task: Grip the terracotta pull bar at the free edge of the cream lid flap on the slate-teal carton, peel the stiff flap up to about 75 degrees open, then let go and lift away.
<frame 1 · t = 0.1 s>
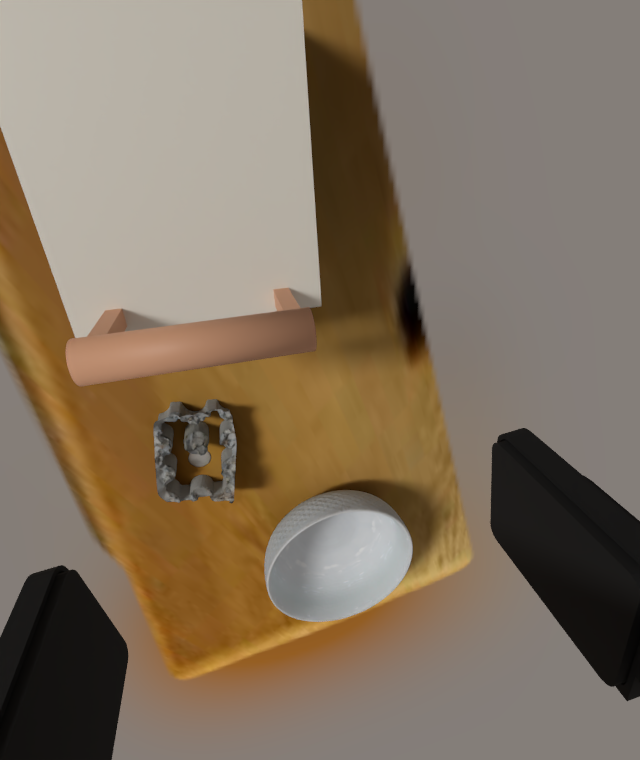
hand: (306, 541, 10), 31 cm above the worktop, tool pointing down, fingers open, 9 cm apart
flap: (169, 176, 21), point 13 cm above the worktop, hinge at 0.0°
cereal bowl: (327, 522, 53), on the worktop
egg carton: (196, 441, 44), on the worktop
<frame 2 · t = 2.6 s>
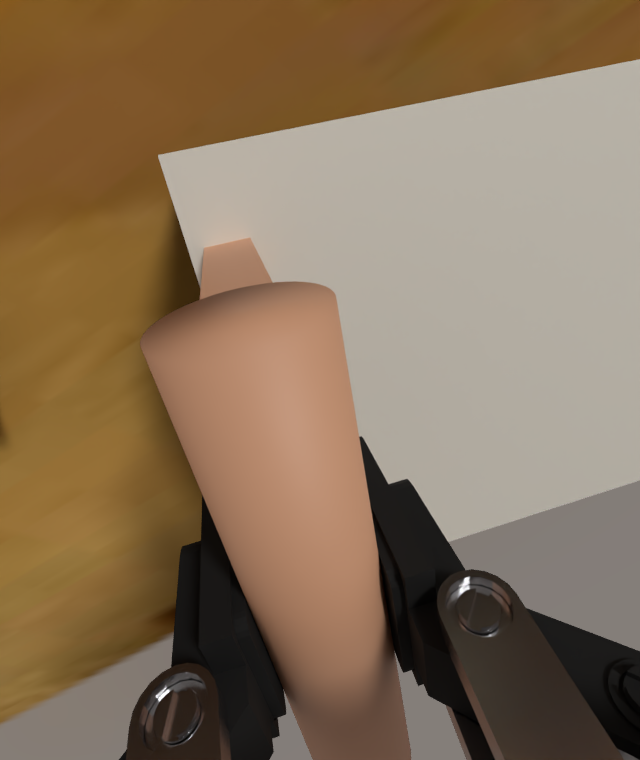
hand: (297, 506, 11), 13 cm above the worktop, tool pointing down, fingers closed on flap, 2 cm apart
flap: (579, 417, 12), point 13 cm above the worktop, hinge at 0.0°, touching gripper
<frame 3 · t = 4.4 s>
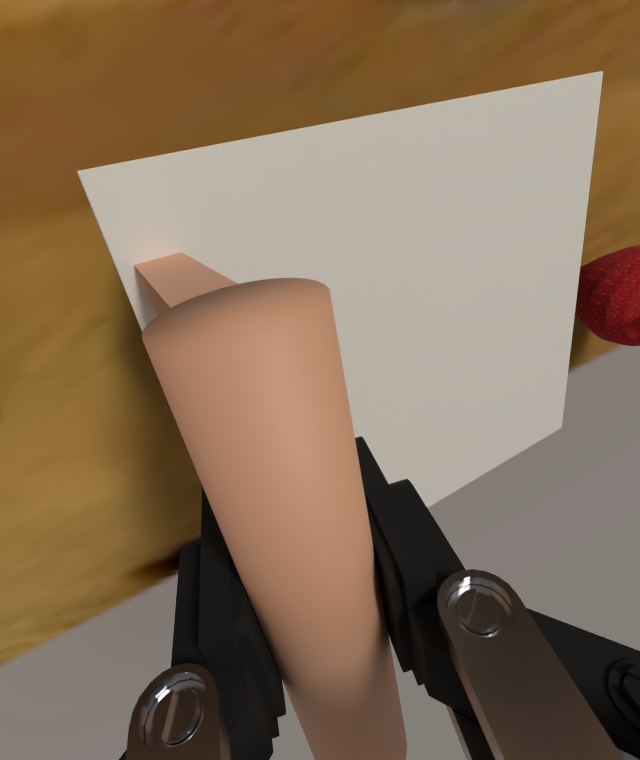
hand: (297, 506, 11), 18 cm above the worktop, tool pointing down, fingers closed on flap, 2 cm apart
flap: (494, 389, 13), point 16 cm above the worktop, hinge at 15.8°, touching gripper
strawberry: (577, 274, 31), on the worktop
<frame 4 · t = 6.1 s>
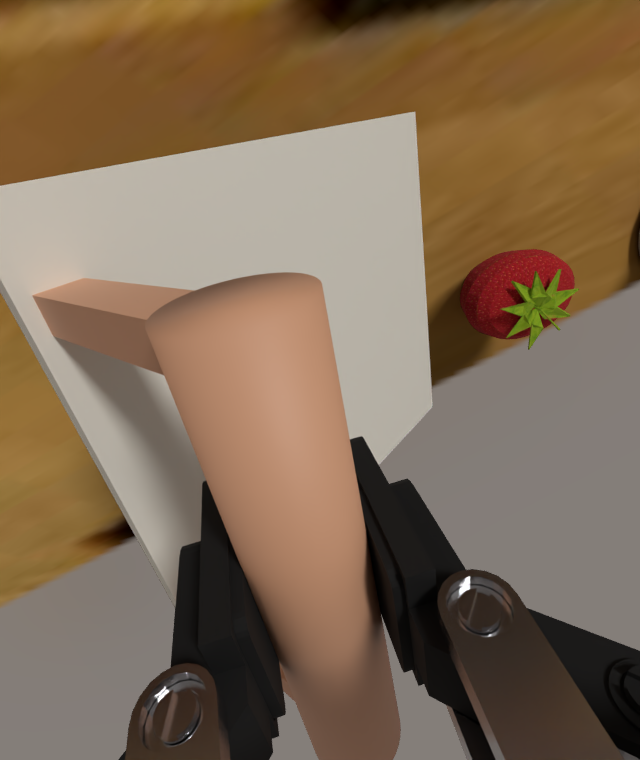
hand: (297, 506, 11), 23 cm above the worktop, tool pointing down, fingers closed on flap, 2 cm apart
flap: (393, 373, 15), point 18 cm above the worktop, hinge at 38.3°, touching gripper
strawberry: (475, 275, 34), on the worktop
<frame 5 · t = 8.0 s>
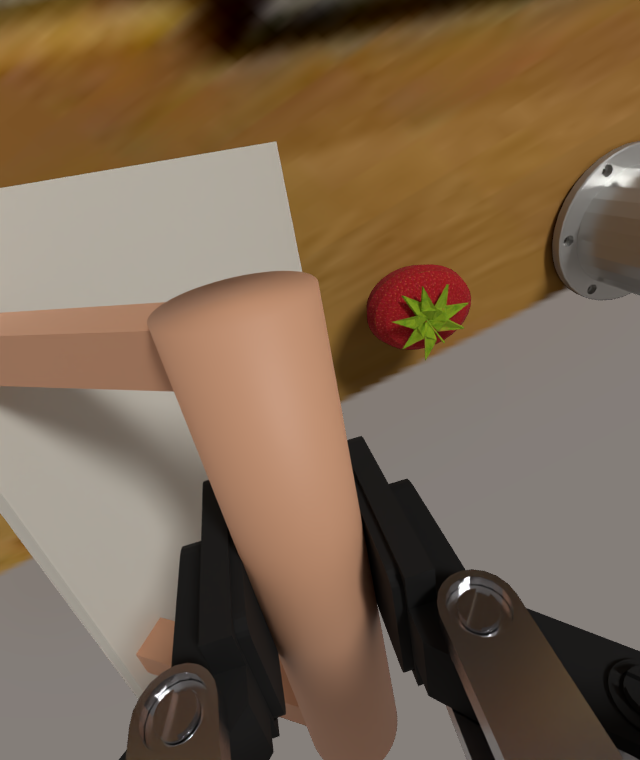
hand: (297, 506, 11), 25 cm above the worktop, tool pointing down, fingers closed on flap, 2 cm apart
flap: (310, 378, 16), point 19 cm above the worktop, hinge at 59.6°, touching gripper
strawberry: (391, 287, 36), on the worktop
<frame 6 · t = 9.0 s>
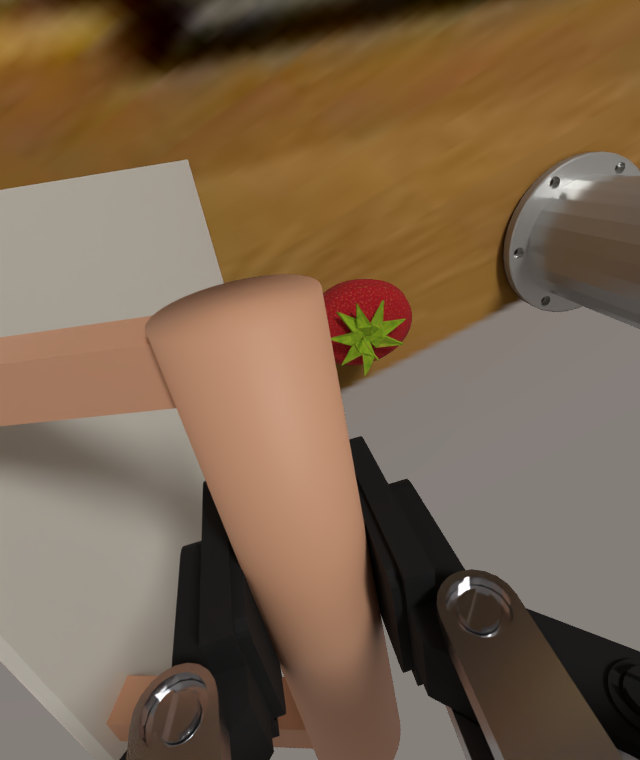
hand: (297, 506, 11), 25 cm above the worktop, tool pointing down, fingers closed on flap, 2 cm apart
flap: (258, 393, 16), point 19 cm above the worktop, hinge at 73.0°, touching gripper
strawberry: (340, 299, 35), on the worktop
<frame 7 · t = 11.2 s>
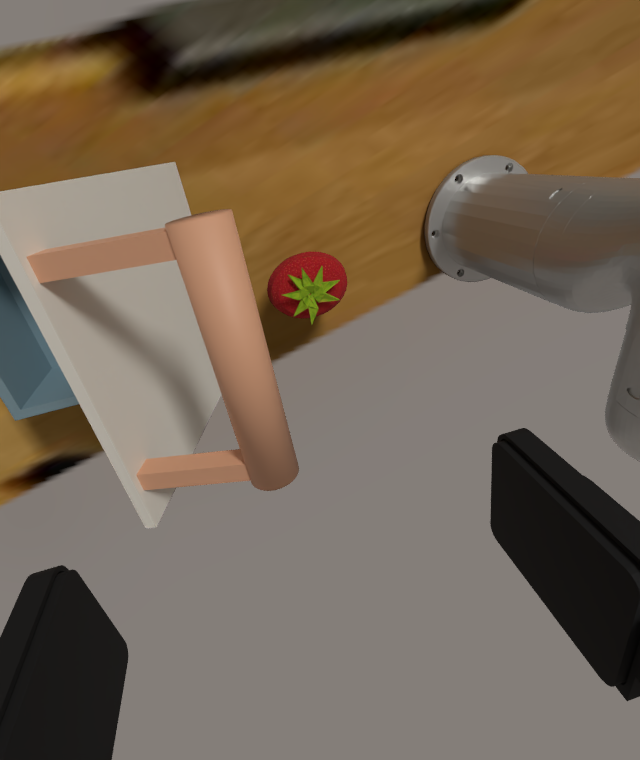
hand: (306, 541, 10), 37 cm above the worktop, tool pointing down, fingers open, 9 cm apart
flap: (223, 309, 25), point 19 cm above the worktop, hinge at 73.3°
carton: (108, 275, 41), on the worktop
strawberry: (296, 271, 45), on the worktop
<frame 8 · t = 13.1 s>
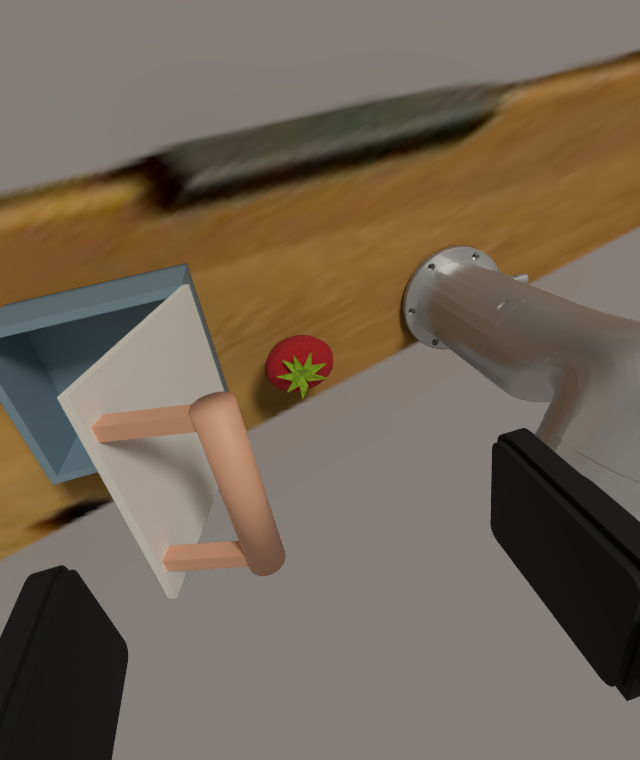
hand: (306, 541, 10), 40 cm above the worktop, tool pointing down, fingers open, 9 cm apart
flap: (228, 417, 32), point 19 cm above the worktop, hinge at 73.3°
carton: (128, 353, 47), on the worktop
strawberry: (291, 344, 51), on the worktop
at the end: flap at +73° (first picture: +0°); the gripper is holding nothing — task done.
